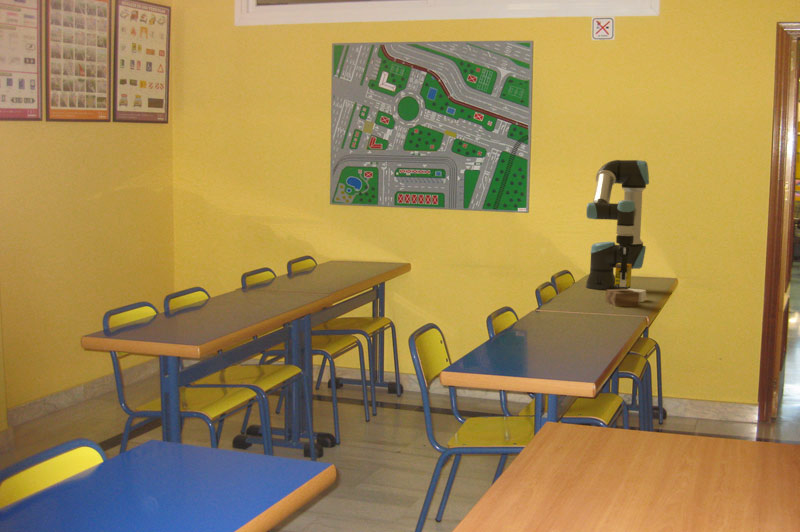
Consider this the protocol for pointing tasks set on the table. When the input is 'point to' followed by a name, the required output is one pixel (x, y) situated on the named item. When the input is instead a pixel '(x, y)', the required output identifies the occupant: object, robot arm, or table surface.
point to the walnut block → (622, 297)
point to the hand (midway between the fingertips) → (622, 285)
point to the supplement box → (628, 277)
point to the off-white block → (640, 294)
